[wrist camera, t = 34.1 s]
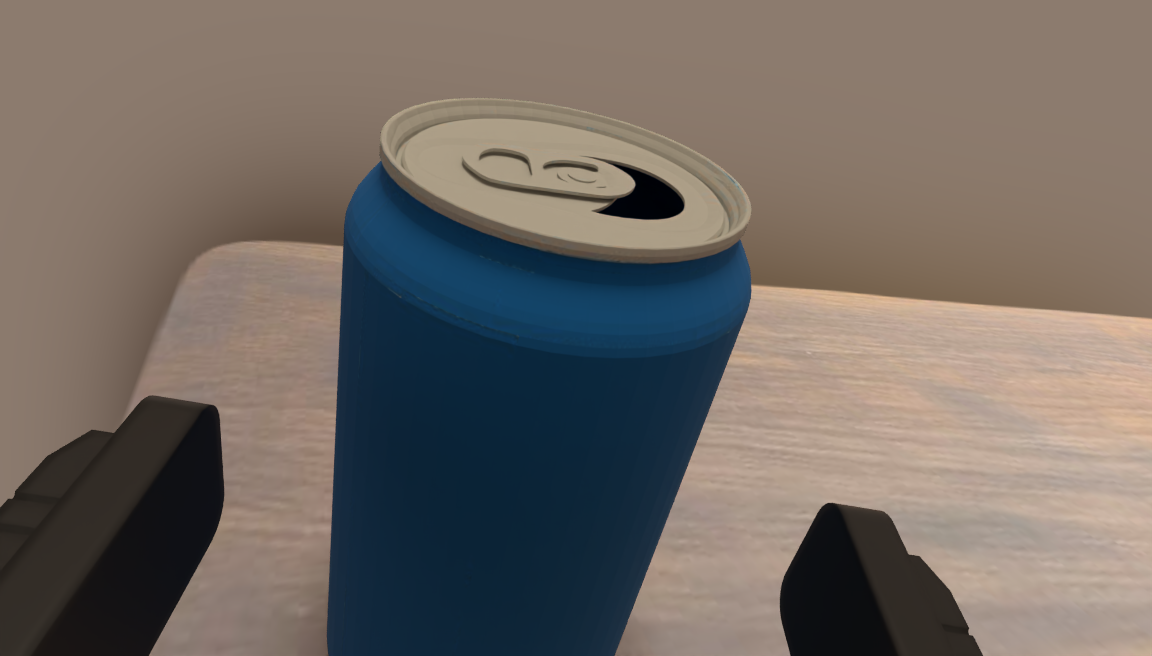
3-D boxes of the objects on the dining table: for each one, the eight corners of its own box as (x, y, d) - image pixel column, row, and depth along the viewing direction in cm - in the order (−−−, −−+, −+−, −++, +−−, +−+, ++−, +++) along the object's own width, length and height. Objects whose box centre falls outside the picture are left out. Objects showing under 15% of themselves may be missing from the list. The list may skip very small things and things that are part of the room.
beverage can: (627, 779, 16) (856, 292, 9) (303, 794, 14) (314, 227, 8) (583, 537, 21) (709, 124, 15) (344, 529, 19) (370, 66, 13)
